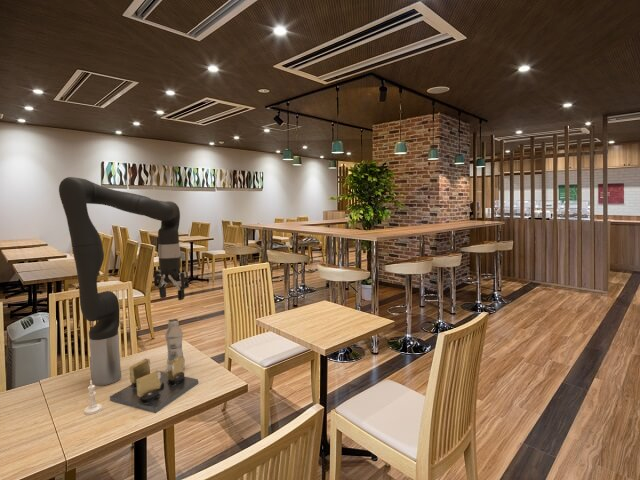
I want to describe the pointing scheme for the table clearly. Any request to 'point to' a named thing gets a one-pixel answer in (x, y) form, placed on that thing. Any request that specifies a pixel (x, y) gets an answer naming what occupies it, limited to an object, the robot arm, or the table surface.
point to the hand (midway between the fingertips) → (172, 298)
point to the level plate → (165, 396)
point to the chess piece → (92, 402)
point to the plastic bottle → (174, 341)
